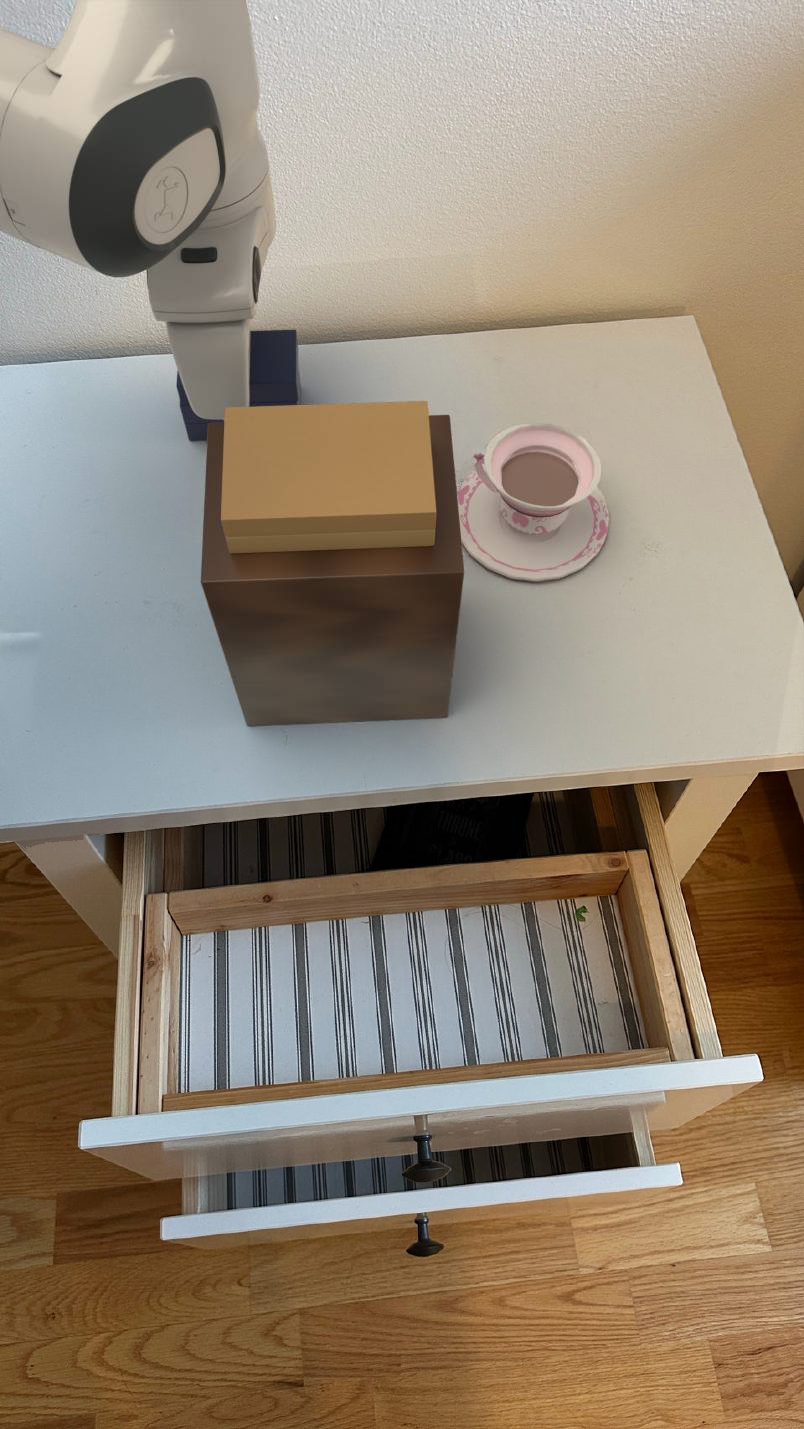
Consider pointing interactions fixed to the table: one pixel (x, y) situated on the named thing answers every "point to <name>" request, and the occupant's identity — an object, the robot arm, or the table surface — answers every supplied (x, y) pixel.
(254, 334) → the navy book
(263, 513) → the tan books
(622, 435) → the table surface
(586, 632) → the table surface
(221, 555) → the book stand
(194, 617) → the table surface
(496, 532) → the teacup
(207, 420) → the navy books
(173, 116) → the robot arm
